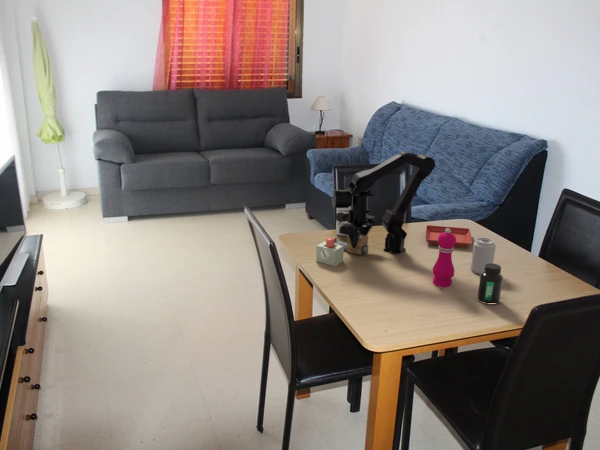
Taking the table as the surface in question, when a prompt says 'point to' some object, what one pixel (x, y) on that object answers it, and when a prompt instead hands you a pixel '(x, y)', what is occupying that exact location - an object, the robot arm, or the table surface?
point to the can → (482, 254)
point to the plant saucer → (460, 233)
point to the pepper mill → (444, 260)
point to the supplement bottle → (490, 284)
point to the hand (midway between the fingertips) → (357, 246)
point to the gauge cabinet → (329, 254)
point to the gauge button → (330, 242)
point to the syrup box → (342, 222)
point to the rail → (364, 251)
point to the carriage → (359, 247)
